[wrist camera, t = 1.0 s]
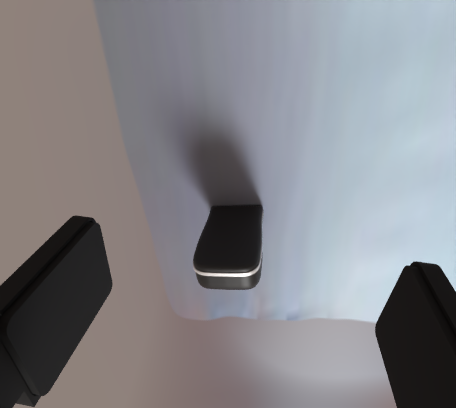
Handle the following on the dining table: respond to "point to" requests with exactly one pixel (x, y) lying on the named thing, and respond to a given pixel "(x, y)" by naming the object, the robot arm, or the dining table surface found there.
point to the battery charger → (230, 248)
